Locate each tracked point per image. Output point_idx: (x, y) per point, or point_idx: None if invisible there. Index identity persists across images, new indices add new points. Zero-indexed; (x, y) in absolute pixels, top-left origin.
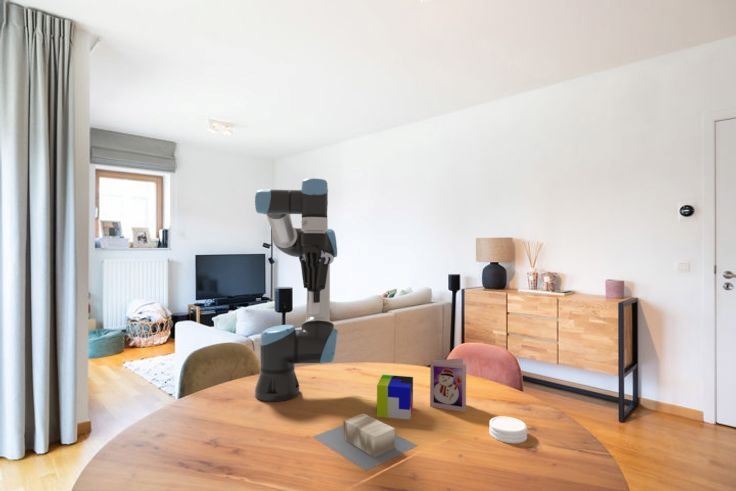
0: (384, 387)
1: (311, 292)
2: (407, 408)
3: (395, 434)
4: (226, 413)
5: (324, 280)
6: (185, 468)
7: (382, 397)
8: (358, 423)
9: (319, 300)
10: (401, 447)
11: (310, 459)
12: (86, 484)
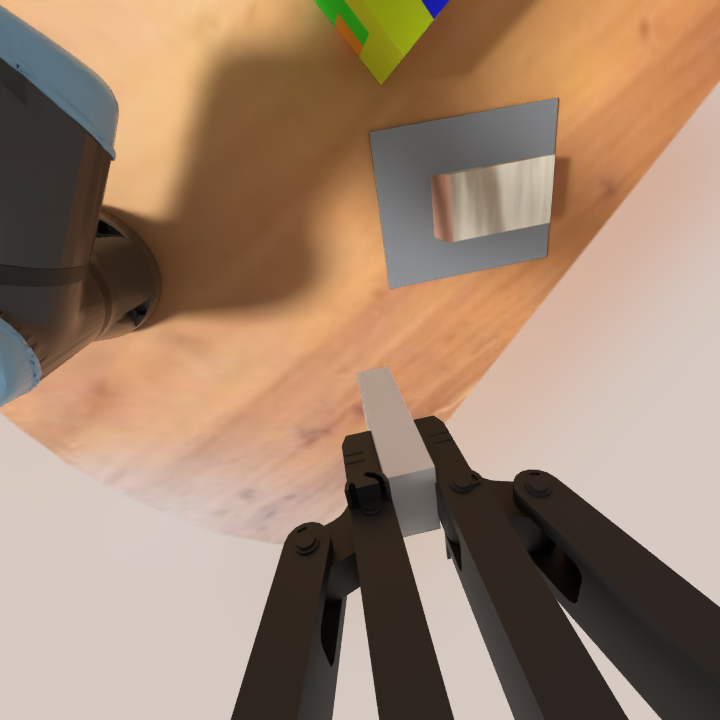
0: (422, 33)
1: (436, 523)
2: None
3: (490, 111)
4: (192, 404)
5: (639, 564)
6: None
7: (407, 52)
8: (481, 219)
9: (444, 426)
10: (538, 141)
11: (453, 319)
12: None
